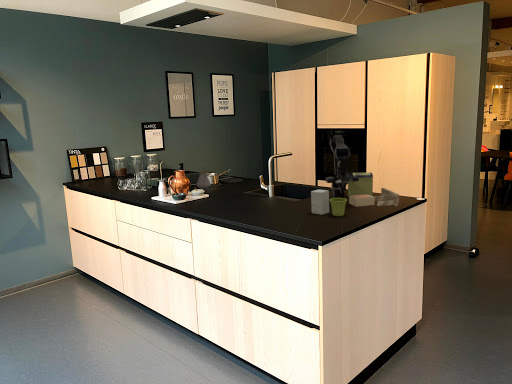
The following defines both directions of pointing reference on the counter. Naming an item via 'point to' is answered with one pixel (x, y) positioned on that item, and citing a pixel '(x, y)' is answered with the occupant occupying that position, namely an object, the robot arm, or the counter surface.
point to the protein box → (361, 185)
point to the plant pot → (338, 206)
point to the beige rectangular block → (361, 200)
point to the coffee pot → (203, 180)
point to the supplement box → (320, 201)
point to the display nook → (387, 198)
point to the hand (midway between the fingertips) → (342, 193)
